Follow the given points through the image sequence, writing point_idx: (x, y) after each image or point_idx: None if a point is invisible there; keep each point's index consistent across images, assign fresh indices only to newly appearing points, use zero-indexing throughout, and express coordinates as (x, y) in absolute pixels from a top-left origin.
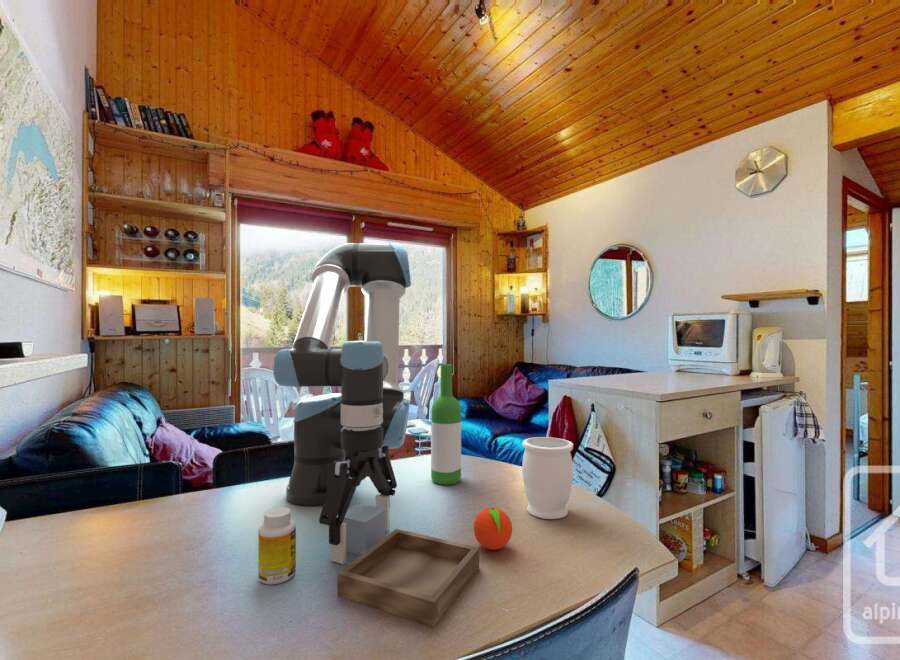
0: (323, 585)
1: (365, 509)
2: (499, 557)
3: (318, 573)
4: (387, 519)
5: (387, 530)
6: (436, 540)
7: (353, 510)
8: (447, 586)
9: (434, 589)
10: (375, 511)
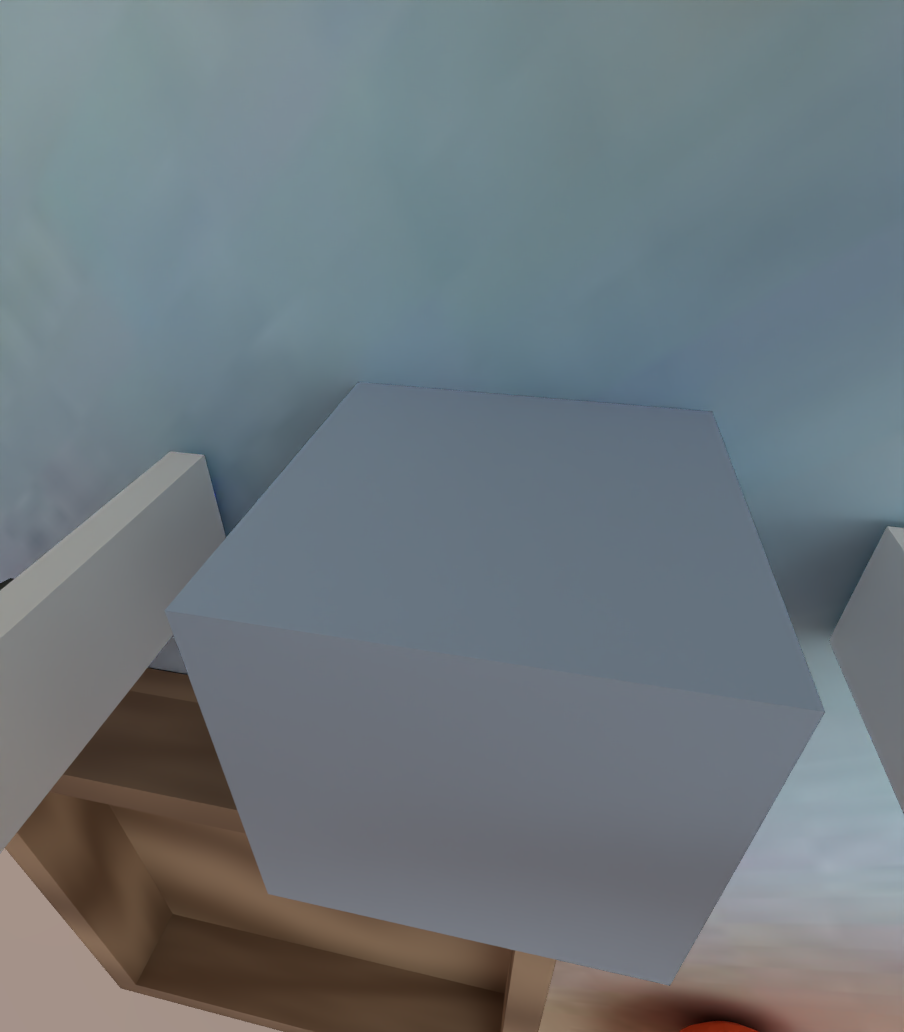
0: (6, 550)
1: (589, 839)
2: (642, 1028)
3: (37, 455)
4: (877, 742)
5: (834, 646)
6: (514, 1015)
7: (473, 726)
8: (212, 1012)
9: (282, 918)
10: (570, 926)
